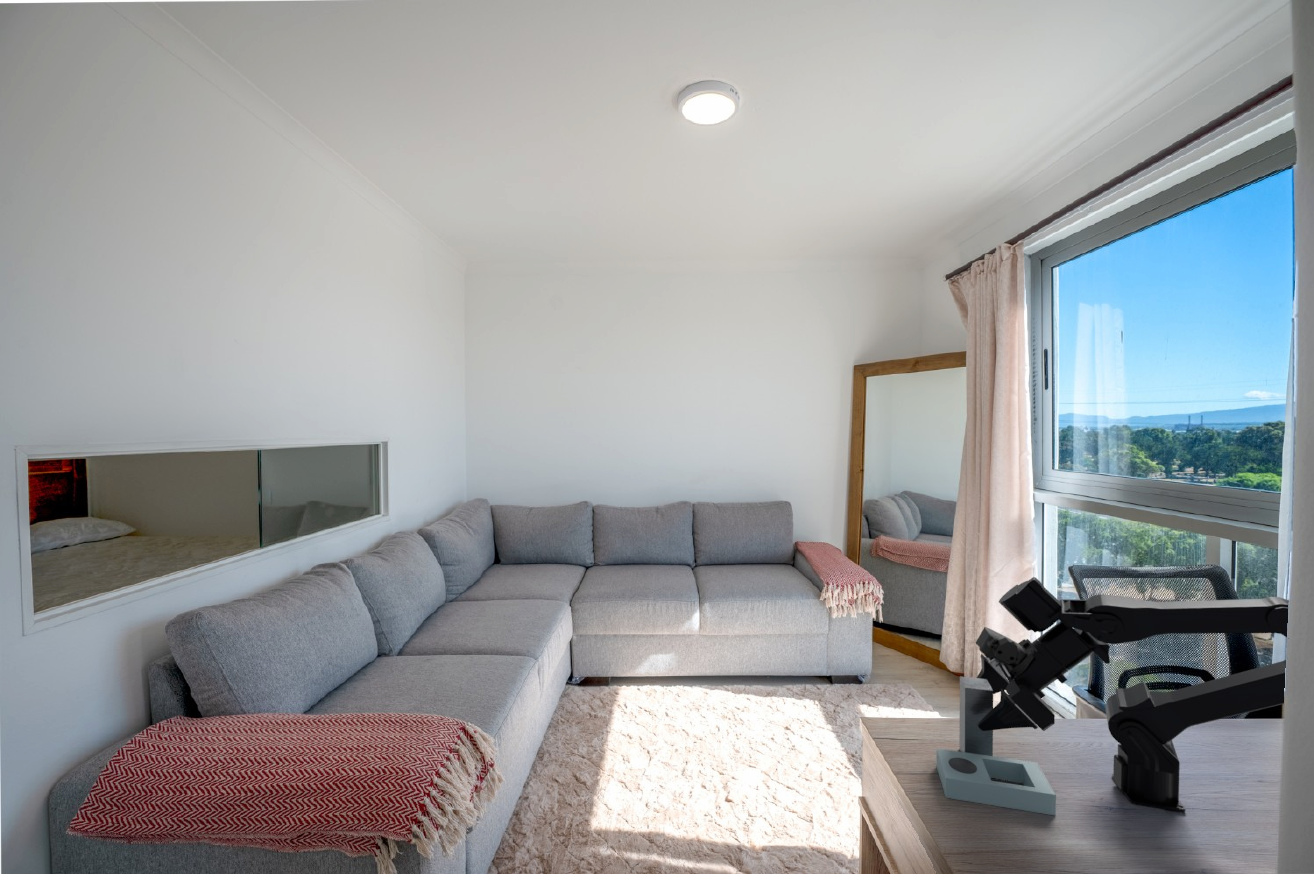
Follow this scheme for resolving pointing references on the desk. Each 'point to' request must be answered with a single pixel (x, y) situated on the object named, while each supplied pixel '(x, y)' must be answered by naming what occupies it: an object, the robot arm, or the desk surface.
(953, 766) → the socket block
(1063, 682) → the robot arm
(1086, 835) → the desk surface
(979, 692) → the square bit
